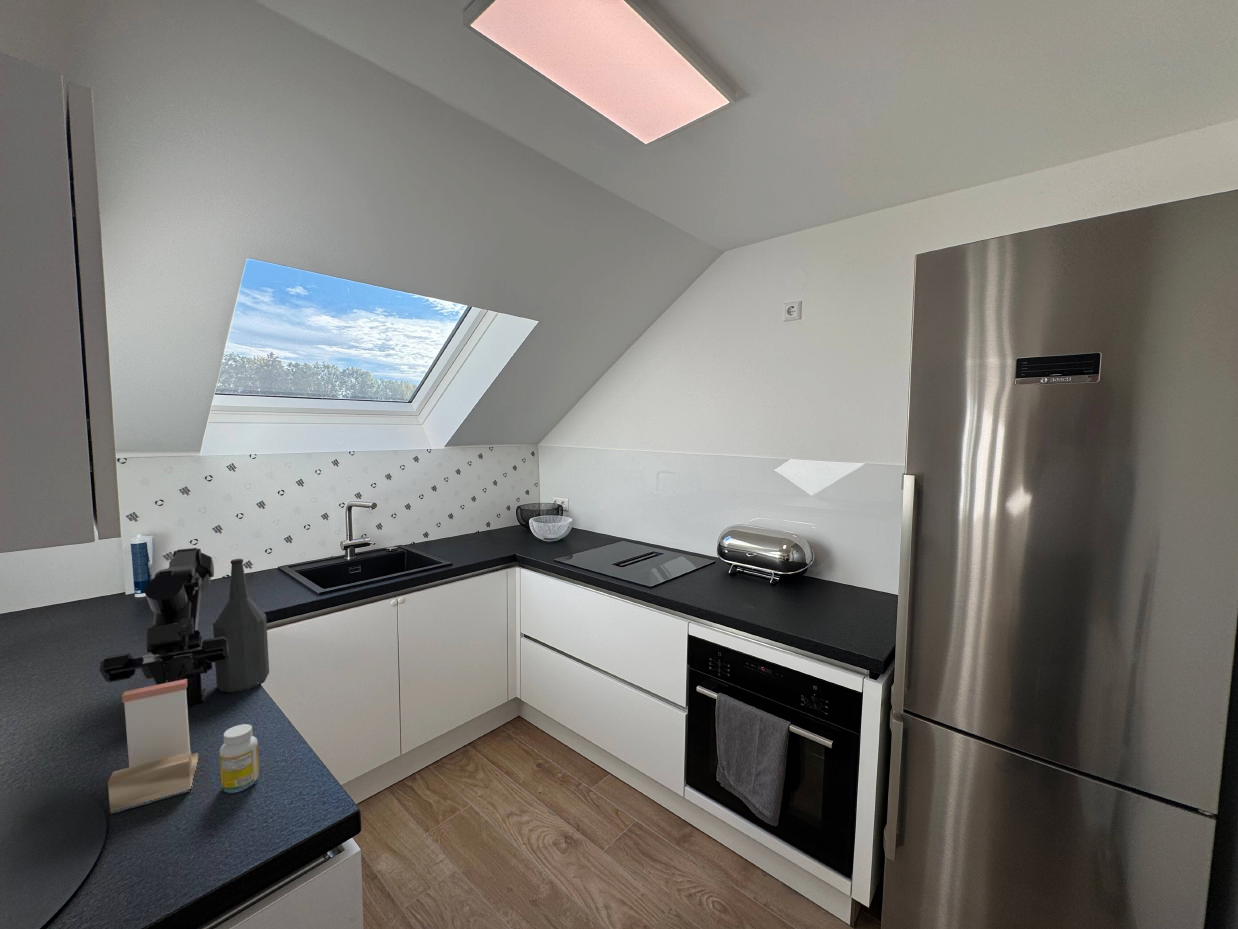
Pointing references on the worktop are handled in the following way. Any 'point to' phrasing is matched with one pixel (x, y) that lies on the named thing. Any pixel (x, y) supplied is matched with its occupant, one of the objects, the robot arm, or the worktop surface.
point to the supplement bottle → (239, 758)
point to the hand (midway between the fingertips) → (165, 701)
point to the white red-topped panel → (156, 722)
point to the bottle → (242, 637)
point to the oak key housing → (151, 780)
